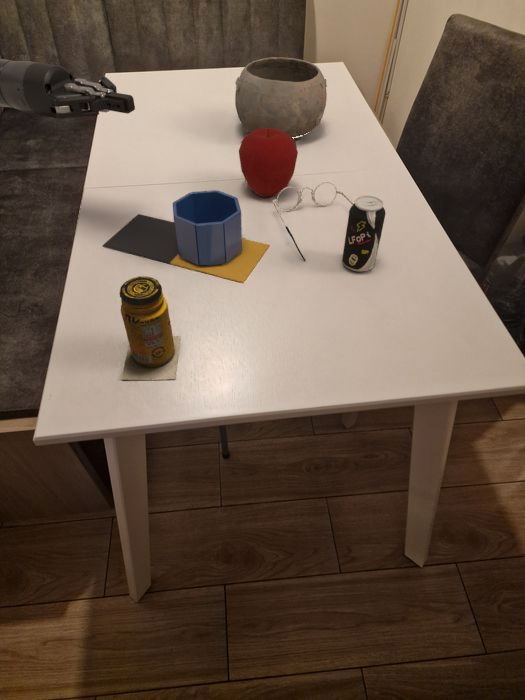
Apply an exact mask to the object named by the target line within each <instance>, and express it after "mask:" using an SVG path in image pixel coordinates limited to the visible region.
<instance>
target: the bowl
mask: <svg viewBox="0 0 525 700" xmlns="http://www.w3.org/2000/svg"><path fill="white" fill-rule="evenodd" d="M234 83H235V95H234V101H235V102H234V105H235V111H236V113H237V117H238V120H239V122H240V124H241V126H243V128H244V129H245V130H246V131H247V133H249V132H251V131H253V130H255V129H260V128H274V129H278V130H281V131H283V132H285V133H287V134H288V135H289V136H290V137H296V136H300V135H304V134H306V133H308V132H310V131H311V132H313V130H315V129H316V128H317V127H318V126H319V125H320V123H321V120H322V119H323V116H324V113H325V110H326V108H327V107H326V106H327V100H328V99H327V98H328V97H327V95H328V93H327V87H328V85H327V79H326V78H325V76H324V75H323V72H322V71H321V69H320V68H319V66H318V65H317V64H314V63H312V62H311V61H308V60H304V59H299V58H293V57H284V56H278V57H277V56H271V57H264V58H260V59H257V60H253V61H251V62H249V63H248V64H247V65H245V66H244V67H243V69H242V70H241V72H240V75H239V76H238V77H237V78H236V80H235V82H234ZM311 132H310V133H311ZM308 134H309V133H308ZM298 139H301V138H300V137H299V138H294V139H293V140H294V141H295V140H298Z"/></svg>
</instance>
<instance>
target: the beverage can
mask: <svg viewBox="0 0 525 700" xmlns="http://www.w3.org/2000/svg"><path fill="white" fill-rule="evenodd" d="M353 203H354V204H353V205H352V204H351V206H350V208H349V211H348V217H347V225H346V231H345V237H344V244H343V250H342V251H343V252H342V257H341V260H342V261H341V262H342V264H343V265H344V266H345V267H346V268H347V269H349V270H351V271H353V272H359V273H360V272H366V271H370V270H372V269H373V268H374V267H375V265H376V262H377V257H378V253H379V247H380V244H381V243H380V242H381V237H382V232H383V229H384V223H385V219H386V209H385V208H384V201H383V200H382V199H381V198H379V197H377V196H373V195H360V196H358V197H356V198H355V200H354V202H353Z"/></svg>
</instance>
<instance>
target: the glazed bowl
mask: <svg viewBox="0 0 525 700" xmlns="http://www.w3.org/2000/svg"><path fill="white" fill-rule="evenodd" d="M172 215H173V222H174V224H175V231H176V238H177V246H178V253H179V256H180V257H181V258H184V259H185V260H186V261H188V262H190V263H192V264H195V265H199V266H217V265H222V264H225V263H227V262H229V261H231V260H232V259H234V258H235V257H236V256H237V254H239V253H240V252H241V251H242V238H243V230H242V227H243V226H242V208H241V205H240V201H239V198H238V197H237V196H234V195H231V194H228V193H225V192H223V191H221V190H214V189H213V190H200V191H191V192H188V193H187V194H185V195H183V196H181V197H180V198H178V199H176V200H175V201H173V202H172Z"/></svg>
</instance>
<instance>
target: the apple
mask: <svg viewBox="0 0 525 700" xmlns="http://www.w3.org/2000/svg"><path fill="white" fill-rule="evenodd" d="M238 154H239V155H238V157H239V163H240V171H241V173H242V176H243V177H244V180H245V182H246V184H247V186H248V187H249V189H251V190H252V191H253V192H254V193H256V194H257V196H260V197H261V198H272V197H274V196H276V195H278V194H279V193H280V191H281V190H282V189H284V188H286V187H289V186H288V185H289V183H290V182H291V180H292V178H293V176H294V174H295V169H296V164H297V159H298V154H299V152H298V148H297V145H296V142H295V140H293V138H292V137H290V136H289V135H288V134H287V133H285V132H283V131H281V130H278V129H274V128H260V129H255V130H253V131H251V132H250V133H249V132H247V134H246V135H244V136H243V138H242V140H241V143H240V146H239V148H238ZM286 189H287V188H286ZM284 190H285V189H284ZM280 194H281V193H280Z"/></svg>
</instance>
